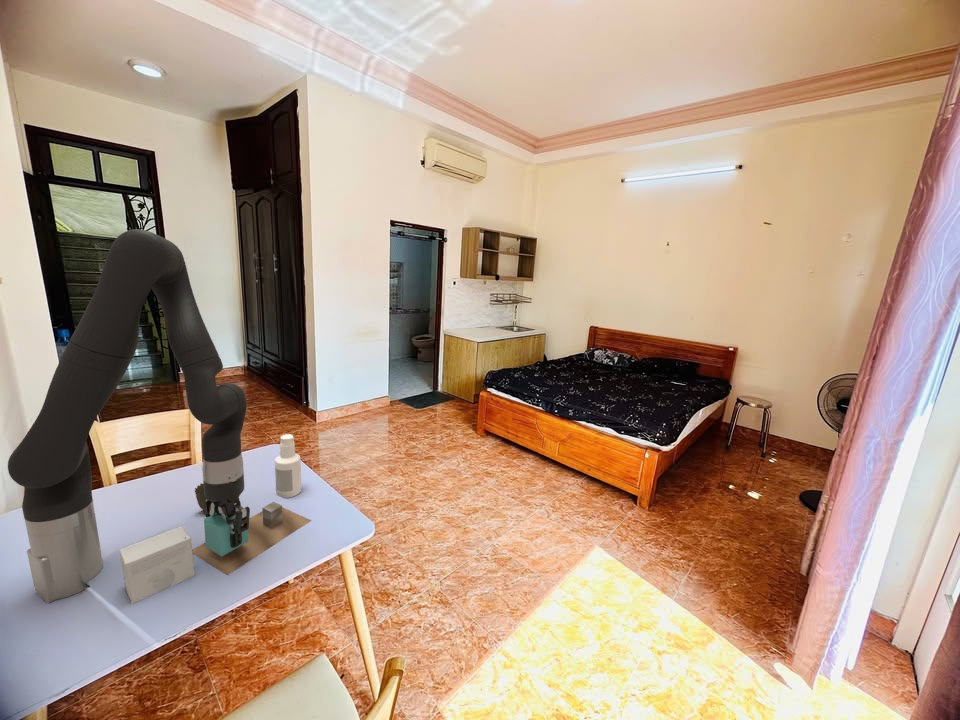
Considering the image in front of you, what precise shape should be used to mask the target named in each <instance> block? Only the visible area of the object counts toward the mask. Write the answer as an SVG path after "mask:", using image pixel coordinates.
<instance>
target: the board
mask: <svg viewBox="0 0 960 720" xmlns="http://www.w3.org/2000/svg"><path fill="white" fill-rule="evenodd" d="M261 509H262V511H260V512H257V514H255V515H252V516H251V517H249V529H248V542H246V543H245V544H243V545H241V546H239V547H238V548H236V549H234V550H232V551H231V552H229V553H227V554H225V555H224V556H220V555H219V554H217V553H215V552H214V551H212V550H211V549H209V548H207V547H206V542H205V541H204V542H203V543H202V544H200V545H198V546H196V547H195V548H192V552H193V556H196V557H197V558H199V559H201V560H202V561H204V562H205V563H207V564H209V565H210V566H212V567H214V568H215V569H216V570H219V571H220V572H221V573H223V574H225V575H227V576H229V575H230V574H232V573H234V571H237V570H238V569H240V568H241V567H243V566H245V565H246V564H248V563H249V562H251V561H252V560H254V559H255V558H257V557H258V556H260V555H261V554H262V553H264V552H266V551H267V550H269V549H270V548H272V547H273V546H275V545H277V544H278V543H279V542H281V541H283V540H284V539H285V538H287V537H289V536H290V535H292V534H294V533H295V532H296V531H298V530H299V529H301V528H302V527H304V526H306V525H307V524H309V523H311V521H312V519H309V518H307V517H305V516H303V515H301V514H298V513H296V512H295V511H292V510H290V509H287V508H286V507H284V506H283V505H282V504H280V503H278V502H275V501H272V502H270V503H268V504H267V505H265V506H263V507H262V508H261Z"/></svg>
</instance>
